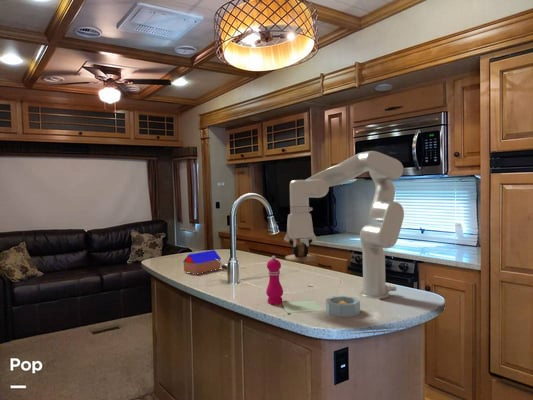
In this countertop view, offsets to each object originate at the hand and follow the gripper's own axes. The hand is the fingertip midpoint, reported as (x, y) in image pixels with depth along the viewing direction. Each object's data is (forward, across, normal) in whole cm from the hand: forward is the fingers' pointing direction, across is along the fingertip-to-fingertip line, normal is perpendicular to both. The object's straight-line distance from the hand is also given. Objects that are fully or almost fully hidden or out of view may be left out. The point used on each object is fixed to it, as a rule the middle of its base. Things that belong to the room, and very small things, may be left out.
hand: (300, 255), depth 157 cm
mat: (+21, 0, 0) cm, 21 cm away
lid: (+1, 0, 0) cm, 1 cm away
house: (+22, +44, -86) cm, 99 cm away
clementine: (+21, -14, +10) cm, 27 cm away
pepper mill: (+21, +10, -10) cm, 25 cm away
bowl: (+21, -14, +10) cm, 27 cm away
